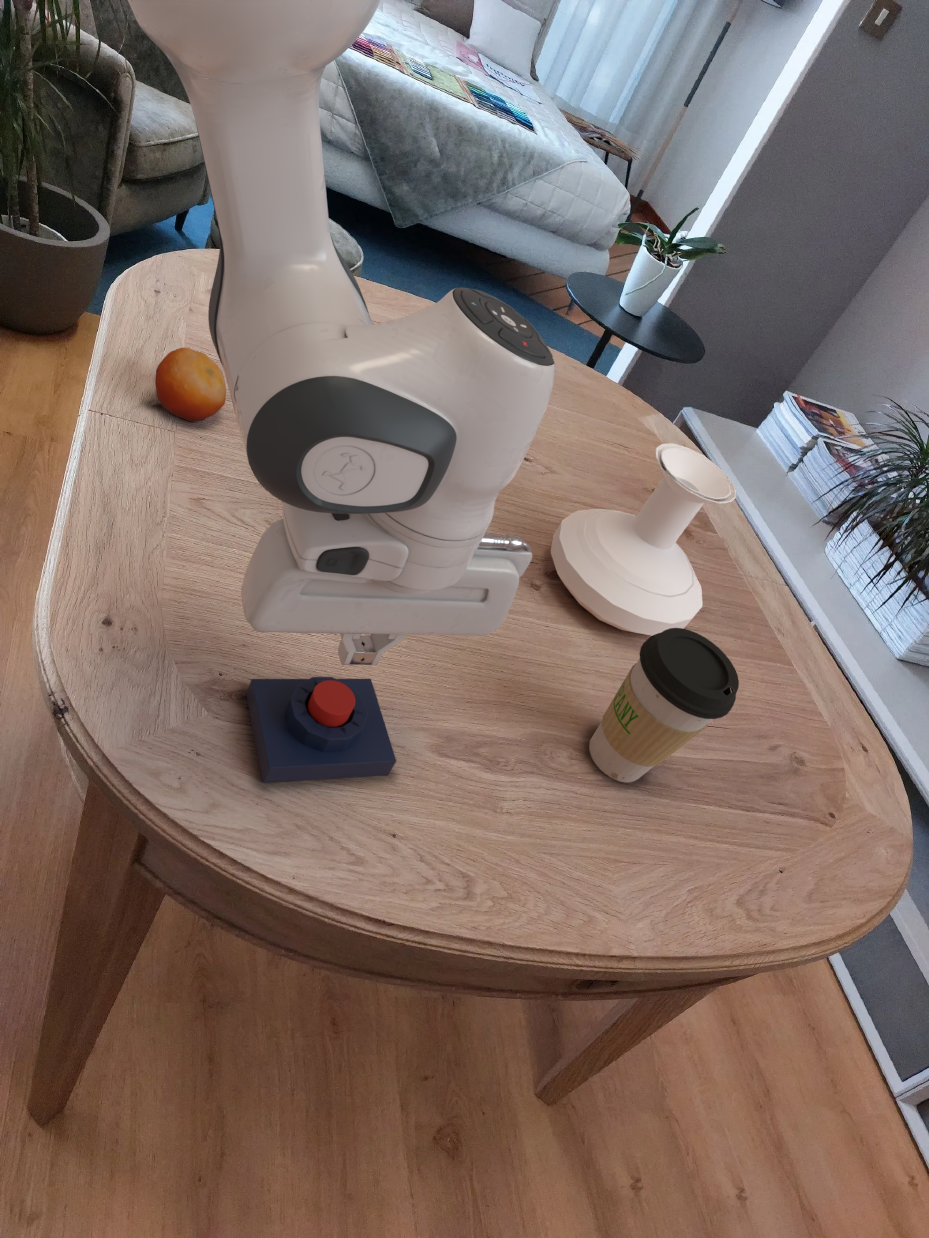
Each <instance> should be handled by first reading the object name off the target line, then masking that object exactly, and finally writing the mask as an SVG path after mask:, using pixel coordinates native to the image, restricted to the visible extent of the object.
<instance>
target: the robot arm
mask: <svg viewBox="0 0 929 1238" xmlns="http://www.w3.org/2000/svg"><path fill="white" fill-rule="evenodd" d="M381 2H382V0H127V3H128V4H129V7H130V9H131V11H132V13H133V15H134V17H135V20H136V22H137V24H138V26H139V27H140V29H141V30H142V31H143V33H145V35H146V36H147V37H148V38H149V39H150V40H151V42H153V43H154V44H155V46H157V47H158V48H159V49H160V50H161V51H162V53H163V54H164V55H165V56H166V57H167V59H168V60H169V61H170V63H171V65H172V66H173V68H174V70H175V72H176V74H177V76H178V77H179V79H180V81H181V84H182V87H183V89H184V91H185V94H186V96H187V98H188V100H189V104H190V107H191V110H192V113H193V116H194V121H195V126H196V130H197V134H198V140H199V145H200V148H201V154H202V159H203V163H204V167H205V172H206V177H207V181H208V186H209V190H210V191H209V192H210V194H211V200H212V205H213V209H214V214H215V219H216V223H217V228H218V229H217V230H218V235H219V252H218V259H217V265H216V270H215V273H214V278H213V282H212V285H211V291H210V294H209V295H210V296H209V302H208V320H207V321H208V328H209V333H210V338H211V340H212V344H213V347H214V348H215V352H216V354H217V356H218V359H219V361H220V364H221V366H222V369H223V371H224V377H225V379H226V380H225V381H226V383H227V387H228V391H229V395H230V399H231V402H232V407H233V411H234V415H235V419H236V422H237V426H238V429H239V433H240V436H241V437H240V438H241V441H242V444H243V447H244V450H245V451H244V452H245V454H246V457H247V462H248V465H249V467H250V470H251V472H252V475H253V476H254V478H255V479H256V480H257V481H258V483H259V484H260V486H261V487H262V488H263V489H264V490H265V491H267V492H268V493H269V494H270V495H272V496H273V497H274V498H276V499H278V500H279V501H280V502H281V516H282V518H281V519H278V520H276V521H275V522H273V523H272V524H270V525H269V526H268V527H267V528H266V529H265V531H264V532H263V533H262V535H261V537H260V538H259V540H258V542H257V544H256V546H255V547H254V550H253V552H252V555H251V557H250V560H249V562H248V565H247V567H246V570H245V573H244V576H243V579H242V583H241V588H240V598H241V604H242V609H243V613H244V616H245V617H244V618H245V620H246V622H247V623H248V624H249V626H250V627H251V628H252V629H253V630H254V631H255V632H258V633H296V634H297V633H299V634H339V636H340V638H341V639H340V642H339V644H338V647H337V654H338V657H339V662H340V664H341V665H342V666H349V665H351V666H353V665H354V666H357V665H361V666H372V665H373V666H378V665H379V662H380V660H381V658H382V656H383V654H385V653H386V652H388V651H390V650H391V649H393V648H394V647H396V646H397V645H399V644H400V643H402V642H403V641H404V640H405V638H406V636H407V635H408V636H409V635H411V636H412V635H413V636H414V635H415V636H466V637H467V636H468V637H469V636H470V637H472V636H474V637H475V636H477V637H487V636H489V635H491V634H492V633H494V632H496V631H497V630H499V629H500V628H501V627H502V626H503V625H504V622H505V620H506V618H507V616H508V614H509V612H510V609H511V607H512V605H513V602H514V600H515V597H516V594H517V592H518V588H519V585H520V578H521V577H522V576H523V575H524V574H525V572H526V570H527V569H528V567H529V565H530V563H532V559H533V549H532V547H531V546H530V544H529V543H528V542H526V541H525V540H524V538H523V537H522V536H519V535H514V534H505V535H503V534H502V535H501V534H495V533H492V532H491V533H490V532H487V531H488V530H489V526H490V525H491V523H492V519H493V517H494V513H495V506H496V505H495V504H496V501H497V498H498V496H499V495H500V493H501V492H502V490H503V489H504V488H505V487H506V486H508V485H509V484H511V482H512V480H513V479H514V478H515V477H516V475H517V473H518V472H519V469H520V467H521V465H522V464H523V461H524V460H525V458H526V456H527V454H528V452H529V450H530V447H531V446H532V444H533V442H534V439H535V437H536V435H537V433H538V431H539V428H540V425H541V424H542V421H543V419H544V416H545V413H546V411H547V409H548V405H549V403H550V399H551V396H552V391H553V388H554V383H555V380H556V379H555V378H556V363H555V361H554V356H553V354H552V351H551V350H550V348H549V346H548V344H547V343H546V341H545V340H544V338H543V337H542V336H541V334H540V333H539V332H538V331H537V329H536V328H535V327H534V325H532V323H531V322H530V321H529V319H527V318H526V317H524V316H522V315H521V314H520V313H519V312H518V311H516V309H515V308H513V307H512V306H510V305H509V304H507V303H506V302H504V301H502V300H500V299H499V298H497V297H495V296H493V295H491V294H490V293H488V292H485V291H482V290H479V289H475V288H468V287H455V288H453V289H451V290H449V292H447V293H446V294H445V295H444V296H443V297H441V298H440V299H439V300H438V301H437V302H436V303H434V304H432V305H430V306H427V307H426V308H424V309H421V310H419V311H418V310H417V311H415V312H413V313H412V314H409V315H406V316H403V317H400V318H396V319H393V320H389V321H384V322H380V323H374V322H373V320H372V318H371V316H370V312H369V309H368V306H367V303H366V301H365V298H364V296H363V293H362V290H361V288H360V285H359V283H358V282H357V279H356V277H355V275H354V274H353V272H352V271H351V268H350V267H349V265H348V264H347V262H346V261H345V259H344V258H343V256H342V255H341V253H340V252H339V250H338V249H337V247H336V244H335V243H334V240H333V236H332V234H331V231H330V219H329V208H328V198H327V196H328V195H327V187H326V186H327V185H326V175H325V174H326V173H325V164H324V163H325V162H324V155H323V144H322V143H323V141H322V132H321V122H320V119H321V118H320V91H321V84H322V80H323V79H322V78H323V74H324V71H325V69H326V67H327V66H328V65H330V64H331V63H332V62H334V61H335V60H336V59H338V58H339V57H340V56H342V55H343V54H344V53H345V52H347V50H348V49H349V48H350V47H351V46H352V45H353V44H354V43H355V42H356V41H357V40H358V38H359V37H360V36H361V35H362V34H363V32H364V31H365V30H366V28H367V27H368V26H369V24H370V22H371V21H372V19H373V17H374V15H375V13H376V12H377V10H378V7H379V6H380V4H381ZM363 634H364V635H363Z"/></svg>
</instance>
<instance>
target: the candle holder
mask: <svg viewBox="0 0 929 1238" xmlns="http://www.w3.org/2000/svg"><path fill="white" fill-rule="evenodd" d="M655 457H656V460H657V462H658V465H659V467H660V470H661V472H662V475H663V477H662V478H661V479H660V481H659V482H658V484H657V485H656V487H655V488H654V490H653V491H652V492H651V494H650V495H649V497H648V498H647V500H646V501H645V503H644V504H643V506H642V507H641V509H640V510H639V511H638V513H637V515H636V514H632V513H629V512H625V511H620V510H616V509H606V508H605V509H604V508H590V509H589V508H588V509H582V510H581V509H580V510H575V511H573V512H572V513H571V514H569V515H568V516H567V517H565V518H563V519H561V521H560V523H559V524H558V526H557V527H556V529H555V531H554V533H553V535H552V541H551V547H550V556H551V559H552V561H553V564H554V567H555V570H556V574H557V576H558V577H559V579H560V580H561V582H562V583H563V585H564V587H565V588H566V589H567V591H568V592H569V593H570V594H571V595H572V597H573V598H574V599H575V600H576V601H577V603H578V604H579V605H580V606H581V607H582V608H584V609H585V610H586V611H588V612H589V613H590V614H591V615H593V616H594V617H595V618H596V619H597V620H599V621H601V622H603V623H605V624H607V625H610V626H612V627H614V628H616V629H618V630H621V631H625V632H630V633H636V634H642V635H647V636H650V637H651V636H653V635H655V634H658V633H661V632H663V631H664V630H667V629H669V628H683V629H686V627H687V626H688V624H689V623H690V622H691V621H692V620H693V619H694V617H695V616H696V615H697V614H698V613H699V611H700V610H701V609H702V608H703V605H704V604H703V591H702V586H701V583H700V581H699V580H698V577H697V575H696V572H695V571H694V568H693V565H692V564H691V562H690V560H689V558H688V556H687V553H685V551H684V550H683V549H682V548H681V547H680V545H679V544H678V543H677V541H678V539H679V538H680V536H681V535H682V534H683V533H684V531H685V530H686V529H687V528H688V526H689V524H690V523H691V522H692V521H693V520H694V518H695V516H696V515H697V514H698V512H700V510H701V508H703V506H704V504H717V505H720V504H721V505H722V504H729V503H732V502H734V500H736V499H737V498H738V497H737V490H736V489H737V488H736V487H735V485H734V483H733V481H732V480H731V478H730V477H729V476H728V474H727V473H725V472H724V470H723V469H722V468H720V467H719V466H718V465H717V464H716V463H715V462H714V461H712V460H710V459H709V458H708V457H706V456H705V455H704V454H701V453H700V452H698V451H696V450H694V449H692V448H691V447H687V446H684V445H681V444H677V443H675V442H672V443H671V442H670V443H669V442H668V443H661V444H660V445H658V446H656V447H655Z"/></svg>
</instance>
